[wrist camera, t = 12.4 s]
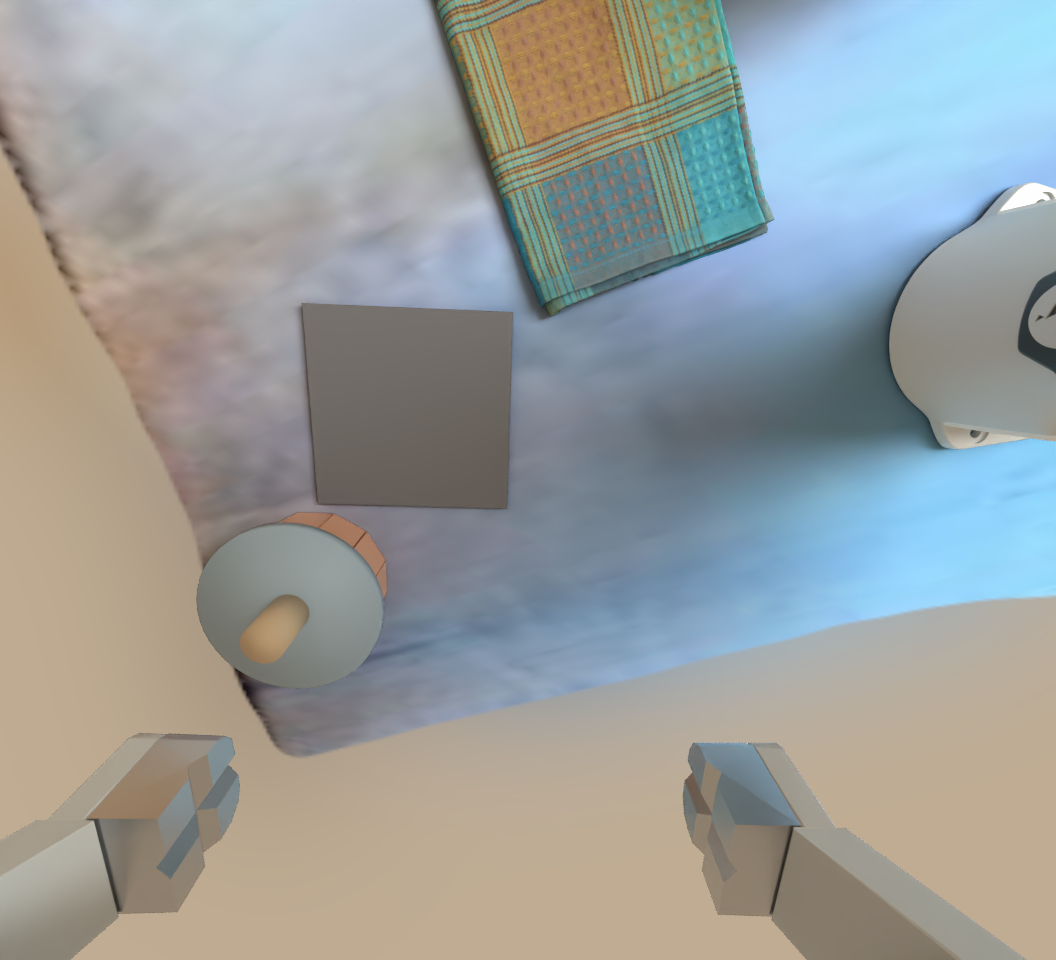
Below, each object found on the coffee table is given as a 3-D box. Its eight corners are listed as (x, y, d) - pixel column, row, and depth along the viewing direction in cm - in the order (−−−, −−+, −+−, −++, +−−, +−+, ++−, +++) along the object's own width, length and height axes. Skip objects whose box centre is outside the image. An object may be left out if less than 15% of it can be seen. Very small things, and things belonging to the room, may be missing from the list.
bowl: (384, 514, 40) (366, 538, 35) (389, 633, 43) (373, 670, 38) (246, 511, 39) (208, 534, 34) (260, 631, 42) (228, 668, 37)
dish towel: (542, 323, 37) (544, 321, 34) (413, -44, 31) (405, -77, 28) (763, 236, 36) (782, 228, 33) (675, -163, 29) (689, -209, 27)
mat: (512, 312, 36) (512, 312, 35) (507, 506, 40) (507, 508, 39) (305, 303, 35) (302, 303, 35) (320, 501, 39) (317, 503, 39)
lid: (381, 525, 35) (359, 554, 30) (387, 681, 38) (369, 729, 33) (193, 519, 34) (140, 548, 29) (216, 678, 38) (173, 727, 33)
